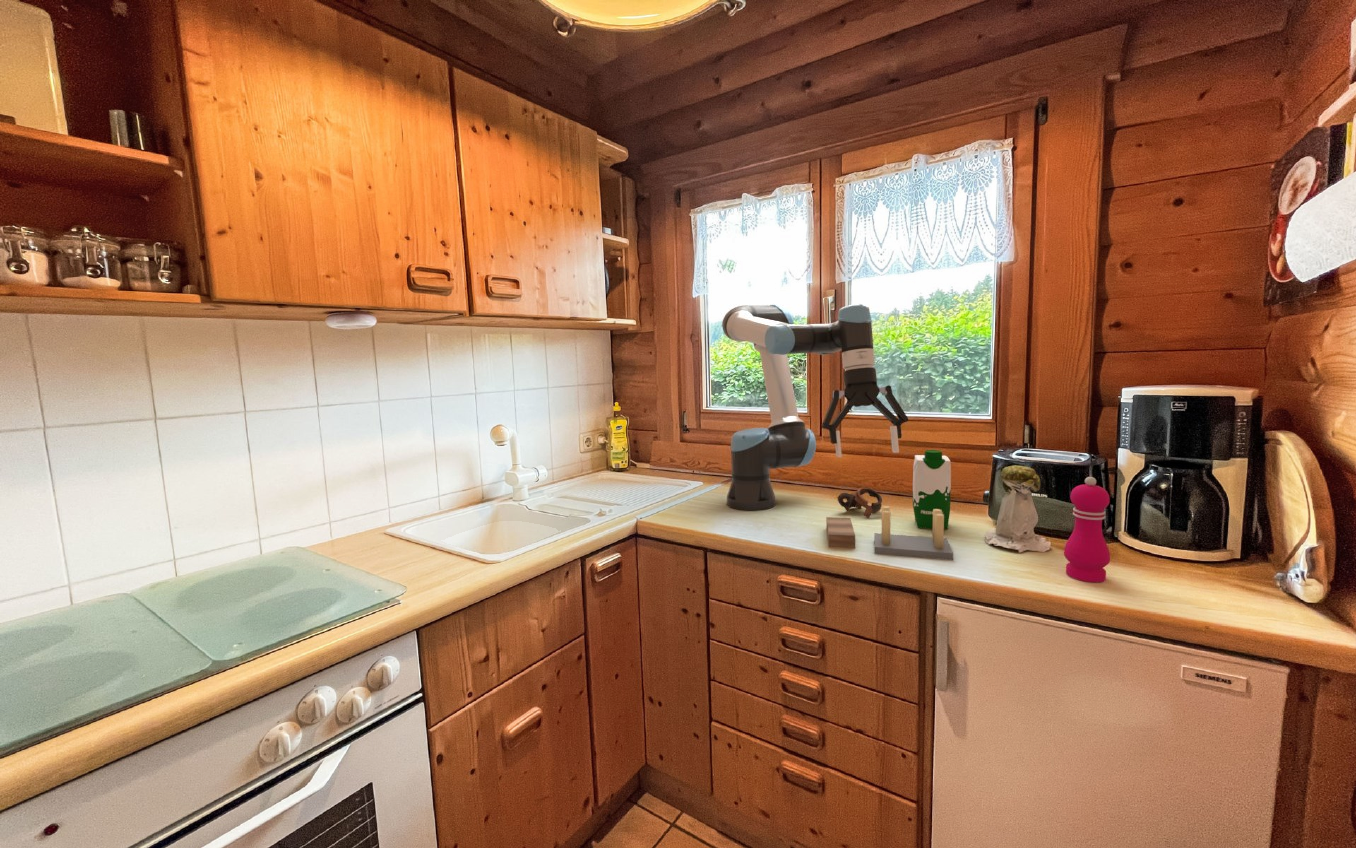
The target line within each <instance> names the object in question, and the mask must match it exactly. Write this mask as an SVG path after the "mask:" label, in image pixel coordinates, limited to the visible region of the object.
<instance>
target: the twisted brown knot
mask: <svg viewBox="0 0 1356 848" xmlns="http://www.w3.org/2000/svg"><path fill="white" fill-rule="evenodd" d="M866 493H868V496H870V497H871V498H872V497H873V498H876V500H877V502H871V505H869V500H867V499H866V498H864V497H863V495H865V494H866ZM844 500H846V501H844ZM837 502H838V503H839V505H840V506H841V507H843V508H844V509H845V510H847V511H846V512H849V511H850V509H851V508H855V509H856V508H857V509H862V507H863V508H864V509H865V511H864V512H863V516H864V517H866V518H869V517H870V516H871V515H874V514H877V513H878V512H879V511H881V510H882V507H883V505H882V503H883V498H882V496H881V495H880V493H878V492H877V491H876V490H874V489H871V488H869V487H859V488H858V489H857V490H855V491H853V492H852V493H848V492H842V493H840V494H839V495H838V496H837Z"/></svg>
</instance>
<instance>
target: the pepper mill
mask: <svg viewBox="0 0 1356 848" xmlns="http://www.w3.org/2000/svg"><path fill="white" fill-rule="evenodd" d="M1084 483H1085V484H1080V485H1079V484H1078V485H1076V486H1075V487H1073V489H1072V490H1071V492H1070V496H1069V497H1070V501H1071V504H1073V505H1074V507H1073V508H1072V510H1073V512H1072V515H1073V516H1074V521H1075V522H1074V526H1073V527H1074V529H1073V531H1072V532H1071V535H1070V536H1069V537H1068V539H1067V541H1066V543H1065V546H1064V549H1063V550H1064V551H1063V556H1064V557H1065V558H1066V560H1067V561H1068V563H1066V564H1065V574H1066V575H1068V577H1069V578H1072V579H1075V580H1077V581H1082V582H1086V583H1103V582H1105V581H1106V579H1107V571H1106V569H1105V567H1107V566H1108V565H1109V564H1110V562H1111V553H1110V549H1109V547H1108V544H1107V541H1106V540H1105V537H1104V534H1103V520H1105V519H1106V511H1105V509H1106V508H1107V507H1108V506H1110V505H1109V504H1110V495H1109V493H1108V491H1107V490H1106V488H1103V487H1101V486H1100V485H1097V479H1096V478H1095V477H1093V476H1087V477H1086V478H1085V479H1084Z"/></svg>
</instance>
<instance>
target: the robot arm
mask: <svg viewBox="0 0 1356 848" xmlns="http://www.w3.org/2000/svg"><path fill="white" fill-rule="evenodd" d="M837 319H838V320H836V321H833V322H831V323H812V324H811V323H807V324H803V323H802V324H796V323H795V322H794V318H793V315H792V313H791V311H790V310H789V309H788V308H787V307H785V306H783V305H775V304H770V305H768V304H767V305H738V306H736V307H733V308H731V309H729V311H728V312H726V314H724V316H723V319H722V323H721V326H722V328H721V329H722V332H723V333H724V335H725V336H726V337H727V338H728V339H729V340H732V341H734V342H739V343H741V342H749V343H753V348H754V350H755V351H756V352H758V353H759V354H760V355H759V356H760V362H761V367H762V374H763V379H764V386H765V391H766V398H767V402H768V403H767V404H768V408H769V413H770V415H769V416H770V420H771V423H770V424H769V426H768V427H767V428H766V427H752V428H746V429H745V428H744V429H742V430H738V431H736V432H734V433H733V434H732V435H731V439H730V440H731V441H730V449H729V450H730V456H731V457H730V458H731V482H730V486H729V488H728V492H727V495H726V505H727V506H728V507H729V508H732V509H737V510H742V511H759V510H767V509H771V508H773V507H775V506H776V504H777V503H776V502H777V500H776V499H777V498H776V494H775V492H774V488H773V485H772V483H771V479H770V477H771V476H770V470H775V469H783V468H785V469H787V468H798V467H801V466H803V467H804V466H806V465H809V464H810V463H811V462H812V461H813V459H814V456H815V453H816V448H817V441H816V440H817V439H816V436H815V434H814V432H813V431H812V429H810V428H806V423H805V421H804V420H803V419H801V418H800V417H799V412H798V407H797V401H796V396H795V391H794V390H795V389H794V386H793V380H792V379H793V378H792V375H791V369H790V363H789V362H790V361H789V357H788V355H797V354H818V355H819V356H820V355H821V356H826V355H827V356H828V355H833V354H835V353H837V352H841V361H842V368H843V370H844V371H843V383H844V390H838V389H835V390H833V391H832V392H831V400H830V401H831V402H830V403H829V407H828V408H827V412H826V414H825V416H824V419H823V421H822V423H821V428H822V429H824V430H828V431H829V439H830V443H831V444H832V445H835V446H834V448H835V457H836V458H843V453H842V444H841V432H840V430H837V428H838V427H839V426H840V425H841V423H842V421H843V420H844V419H845V418H846V416H847V415H848V413H849V411H850V410H851V409H852V408H853V407H855V408H858V407H869V406H871V405H872V406H873V407H874V408H876V410H878V412H879V413H881V415H883V416H884V417H885V418H886V419H887V420H888V421H889V422H890V423H891V425H890V426H889V431H890V441H891V442H890V443H891V451H892V453H894V454H899V453H900V446H899V439H901V438H902V435H903V434H902V424H905V423H907V422H908V421H909V417H908V416H907V415H906V413H905V411H904V410H903V408H902V405H900V403H899V402H898V400H897V398H896V397H895V395H894V394H893V389H892V386H891V385H885V386H882V387H879V386H878V379H877V369H876V368H875V367H874V366H875V365H876V360H875V359H876V358H875V353H874V352H875V350H874V338H873V326H872V325H873V324H872V322H873V320H872V317H871V311H870V308H869V306H868V305H866V304H861V303H858V304H850V305H846V306H842V307H841V308H839V310H838V312H837ZM880 393H881V395H882V396H884V397H885V399H886V401H887V403H888V404H889V406H890V407H891V409H892V410H893V412H894V413H893V412H892V411H890V410H889V408H887V407H886V406H885V405H884V404H883V403H882V401H881V400H880V399H879V398H878V396H879V394H880ZM843 397H844V398H845V399H846V400H847V402H846V403H845V404H844V406H843V408H842V409H841V410H840V412H839V413H838V415H837V416H836V417H835V418H834V420H833V421H832V419H833V416H834V413H835V412H836V408H837V406H838V404H839V400H840V399H842V398H843ZM831 421H832V423H831ZM830 423H831V424H830Z"/></svg>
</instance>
